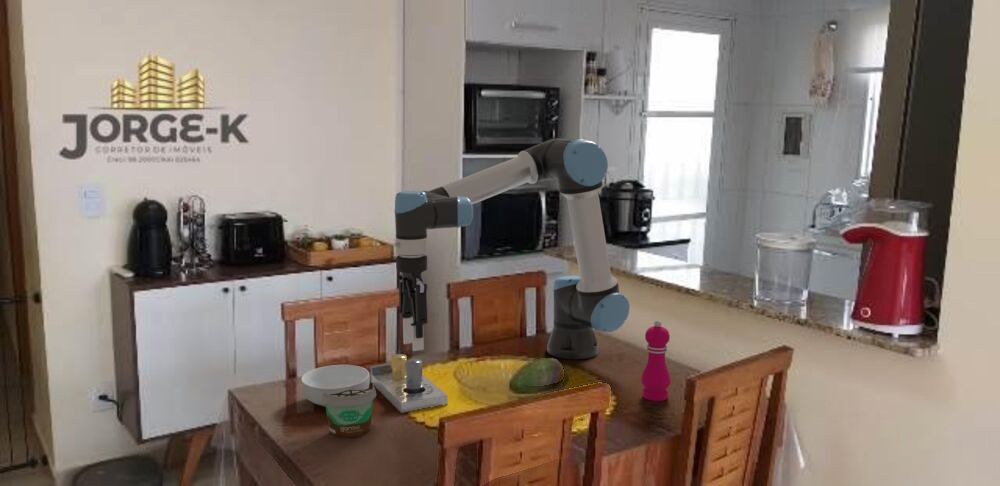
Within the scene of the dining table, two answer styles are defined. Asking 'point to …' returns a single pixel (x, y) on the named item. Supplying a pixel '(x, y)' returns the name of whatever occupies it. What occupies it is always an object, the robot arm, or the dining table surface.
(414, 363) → the steel bushing
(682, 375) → the dining table surface
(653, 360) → the pepper mill
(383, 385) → the plate
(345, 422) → the food container
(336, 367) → the cereal bowl
